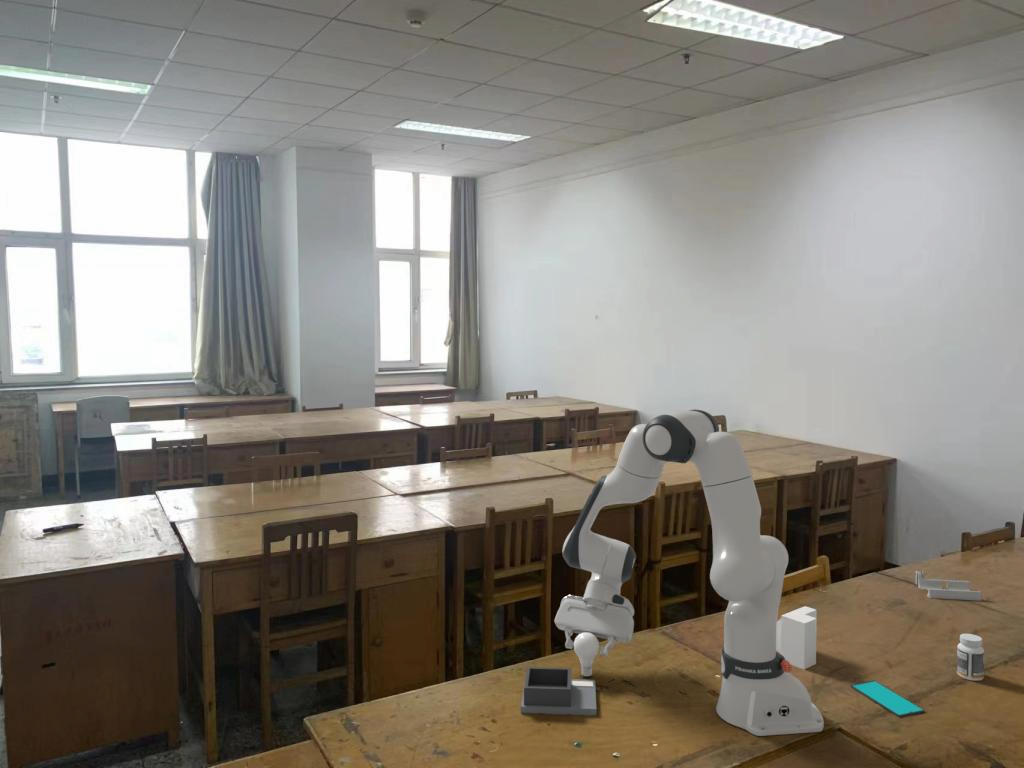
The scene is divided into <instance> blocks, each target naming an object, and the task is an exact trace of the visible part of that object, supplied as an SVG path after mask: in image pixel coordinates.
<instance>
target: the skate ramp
mask: <svg viewBox="0 0 1024 768" xmlns="http://www.w3.org/2000/svg"><path fill="white" fill-rule="evenodd" d="M942 582H946V588H943V585H942ZM915 585H916V586H917V587H918V588H919V589H920V588H921V589H920V590H922V589H926V590H925V591H927V594H926V596H927V597H928V598H929V599H941V600H942V599H945V600H960V601H961V600H963V601H978V602H979V601H982V593H983V592H982V590H981V589H979V590H977V589H972V590H971V588H970V581H969V580H958V578H955V577H954V578H951V579H944V577H937V576H936V577H934V578H926V577H925V574H924V571H923V570H915Z"/></svg>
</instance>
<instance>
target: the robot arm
mask: <svg viewBox="0 0 1024 768" xmlns="http://www.w3.org/2000/svg"><path fill="white" fill-rule="evenodd" d="M617 458H618V459H617V462H616V464H615V467H614V468H613V470H612V471H611V472H610V473H609V474H607V475H602V476H600V478H599V479H598V480H597V481H596V483H595V485H594V487H593V489H592V491H591V492H590V494H589V496H587V497H588V498H587V500H586V502H585V503H584V505H583V508H582V510H581V511H580V514H579V516H578V518H577V520H576V522H575V524H574V526H573V528H572V530H571V531H569V533H568V535H567V536H566V538H565V540H564V542H563V545H562V552H561V553H562V557H563V559H564V561H565V562H566V564H567V565H568V566H569V567H571V568H574V569H579V570H584V571H586V572H587V571H588V572H590V573H591V577H590V579H589V580H588V581H587V584H586V588H585V590H584V594H583V596H579V595H574V594H568V595H566V596H564V597H563V598H562V599H561V601H560V606H559V608H558V610H557V612H556V615H555V618H554V620H553V621H554V624H555V626H556V627H557V628H558V630H561V631H564V634H565V639H566V641H565V643H564V647H565V648H566V649H570V650H572V649H574V641H573V640H572V639H571V636H573V634H574V633H575V634H578V635H579V634H581V633H583V632H589V633H592V634H593V635H595V636H596V638H599V639H604V640H607V641H608V642H607V643H606V645H604V646H601V647H600V649H599V655H600V656H603V657H608V655H609V653H610V652H609V651H611V649H612V648H613V647H615V646H616V642H619V643H624V644H628V643H629V642H631V641H632V639H633V638H632V637H633V634H634V627H635V621H634V618H633V616H634V615H635V609H634V606H633V604H632V603H631V602H630V600H629V598H627V597H625V596H623V595H621V588H622V585H623V584H624V583H626V582H627V581H629V580H631V578H632V575H633V574H632V573H633V568H634V565H635V564H636V560H637V554H636V552H635V550H634V549H633V547H632V546H631V544H628V543H626V542H623V541H621V540H619V539H614V538H611V537H609V536H608V537H607V536H605V535H601V534H598V533H595V532H593V530H591V529H592V526H593V524H594V522H595V520H596V519H597V516H598V514H599V513H600V511H601V509H603V508H604V507H606V506H610V505H615V504H635V503H639V502H642V501H645V500H647V499H649V498H650V497H652V495H654V493H655V491H656V490H657V487H658V486H659V482H660V480H661V476H662V473H663V471H664V470H663V469H664V467H665V464H666V462H668V463H669V462H670V463H679V464H686V463H688V462H689V461H690V462H691V463H693V464H694V465H695V467H696V469H697V471H698V473H699V477H700V478H699V479H700V482H701V486H702V490H703V493H704V497H705V501H706V503H707V509H708V512H709V516H710V517H709V518H710V521H711V522H710V523H711V530H712V535H711V536H712V562H711V563H712V564H711V568H710V572H709V580H710V584H711V586H712V588H713V589H714V591H715V592H716V593H717V594H718V595H719V596H720V597H721V598H723V599H724V600H726V601H728V604H727V608H726V609H725V612H724V617H723V620H724V622H723V647H722V649H721V656H720V657H721V659H720V661H721V662H720V664H721V665H720V666H721V669H720V670H721V674H722V679H721V680H722V681H721V686H720V691H719V696H718V700H717V704H716V707H715V711H716V713H717V715H718V716H719V717H720V718H721V719H722V720H724V721H725V722H727V723H728V724H731V725H732V726H735V727H737V728H741V729H743V730H746V732H749V733H750V734H752V735H754V736H758V737H764V736H765V737H766V736H776V735H777V736H779V735H789V734H790V735H791V734H793V735H794V734H803V733H804V734H808V733H819V732H822V731H823V729H824V728H825V720H824V717H823V715H822V713H821V711H820V710H819V709H818V707H817V706H816V705H815V704H814V703H813V702H812V698H811V695H810V693H809V691H808V689H807V688H806V686H805V685H804V684H803V682H801V681H800V680H799V679H798V678H797V677H795V676H794V675H792V674H791V671H792V669H793V665H791V664H790V663H789V662H788V661H786V660H785V658H784V656H782V655H781V654H780V653H779V652H778V650H776V626H777V621H778V613H779V608H780V604H781V598H782V593H783V587H784V579H785V574H786V570H787V567H788V564H789V553H788V550H787V548H786V546H785V545H784V544H783V542H782V541H781V540H779V539H778V538H776V537H774V536H771V535H765V534H764V535H762V534H761V516H762V507H761V506H762V505H761V503H760V499H759V496H758V492H757V489H756V485H755V481H754V478H753V477H754V476H753V474H752V471H751V467H750V464H749V462H748V460H747V459H748V458H747V457H746V454H745V452H744V449H743V448H742V446H741V443H740V441H739V439H738V438H737V437H736V435H734V434H733V433H731V432H727V431H720V427H719V424H718V421H717V419H716V418H715V417H714V416H713V415H712V414H711V413H709V412H707V411H705V410H702V409H689V410H676V411H672V412H669V413H665V414H660V415H657V416H656V417H654V418H652V419H651V420H650V421H649V422H648V423H640V424H636V425H634V426H633V427H632V428H631V429H630V431H629V433H628V434H627V436H626V438H625V441H624V443H623V445H622V447H621V449H620V453H619V455H618V457H617ZM776 651H777V652H776Z"/></svg>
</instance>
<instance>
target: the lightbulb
mask: <svg viewBox="0 0 1024 768" xmlns="http://www.w3.org/2000/svg"><path fill="white" fill-rule="evenodd" d="M573 642H574V645H573V650H574V652H575V654H576V655H577V657H578V659H579V663H580V666H581V669H580V670H581V671H580V673H581V676H584V677H586V678H588V677H590V676H592V675H593V672H592V671H593V664H594V659H595V657H596V656H597V655H598V653H599V652H600V643H599V639H598V637H596V636H595V635H593V634H592V633H589V632H583V633H581V634H579V633H578V635H576V637H575V638H574V641H573Z"/></svg>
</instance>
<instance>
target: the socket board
mask: <svg viewBox="0 0 1024 768" xmlns="http://www.w3.org/2000/svg"><path fill="white" fill-rule="evenodd" d="M521 695H522V696H521V701H520V702H521V703H520V713H521V714H538V713H545V715H549V714H550V715H567V714H571V716H572V715H574V716H597V692H596V679H579V678H578V679H577V678H576V679H575V678H572V668H571V667H569V668H568V667H543V666H542V667H541V666H539V667H538V666H527V667H526V670H525V678H524V682H523V689H522V694H521ZM576 714H577V715H576Z"/></svg>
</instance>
